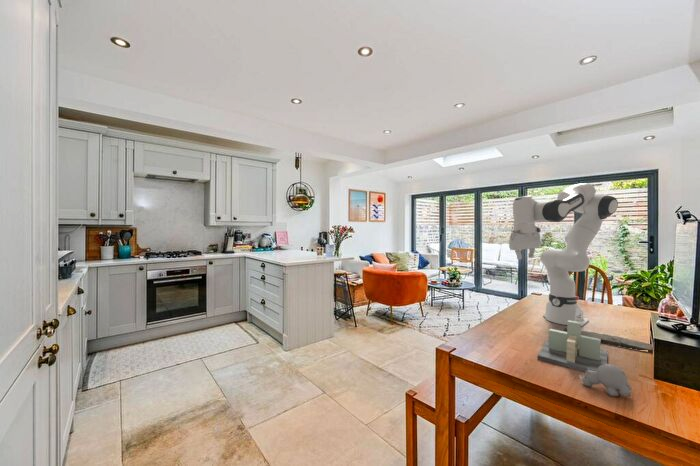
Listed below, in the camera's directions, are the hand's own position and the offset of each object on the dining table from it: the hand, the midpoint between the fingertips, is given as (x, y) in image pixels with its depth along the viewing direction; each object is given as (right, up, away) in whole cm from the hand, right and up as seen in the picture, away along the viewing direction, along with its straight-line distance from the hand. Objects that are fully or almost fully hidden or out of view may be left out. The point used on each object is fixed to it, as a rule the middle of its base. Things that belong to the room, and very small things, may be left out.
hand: (525, 258), depth 140 cm
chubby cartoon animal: (-4, -38, -48) cm, 61 cm away
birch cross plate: (+4, -37, -25) cm, 45 cm away
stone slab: (+31, -37, -8) cm, 49 cm away
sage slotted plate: (+4, -35, -25) cm, 43 cm away
